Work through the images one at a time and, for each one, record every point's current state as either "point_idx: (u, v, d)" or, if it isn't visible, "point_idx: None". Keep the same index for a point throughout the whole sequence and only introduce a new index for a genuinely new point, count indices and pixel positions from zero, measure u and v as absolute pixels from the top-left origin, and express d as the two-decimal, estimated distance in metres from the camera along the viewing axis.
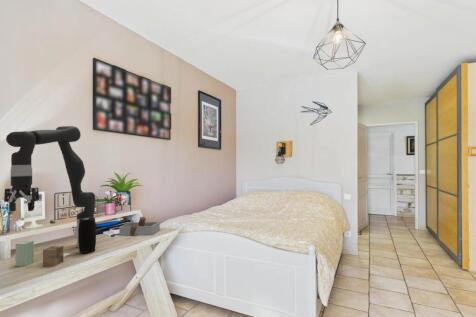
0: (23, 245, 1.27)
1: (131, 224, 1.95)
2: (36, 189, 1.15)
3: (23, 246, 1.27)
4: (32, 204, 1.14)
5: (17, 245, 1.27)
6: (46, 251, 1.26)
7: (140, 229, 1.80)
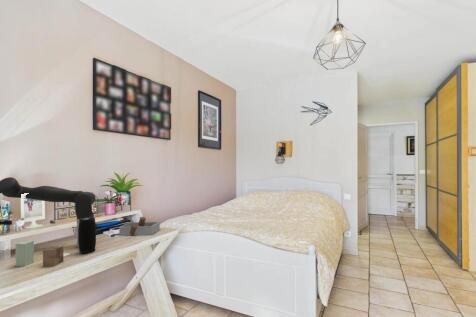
0: (23, 245, 1.27)
1: (131, 224, 1.95)
2: None
3: (23, 246, 1.27)
4: None
5: (17, 245, 1.27)
6: (46, 251, 1.26)
7: (140, 229, 1.80)
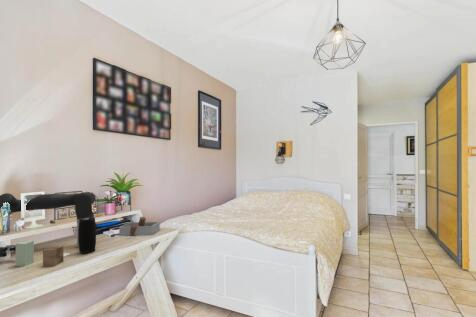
0: (23, 245, 1.27)
1: (131, 224, 1.95)
2: None
3: (23, 246, 1.27)
4: None
5: (17, 245, 1.27)
6: (46, 251, 1.26)
7: (140, 229, 1.80)
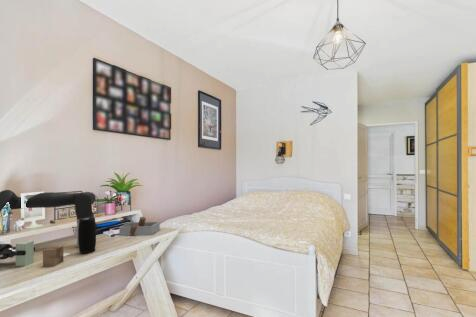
0: (23, 245, 1.27)
1: (131, 224, 1.95)
2: None
3: (24, 246, 1.27)
4: (17, 254, 1.25)
5: (17, 245, 1.27)
6: (46, 251, 1.26)
7: (140, 229, 1.80)
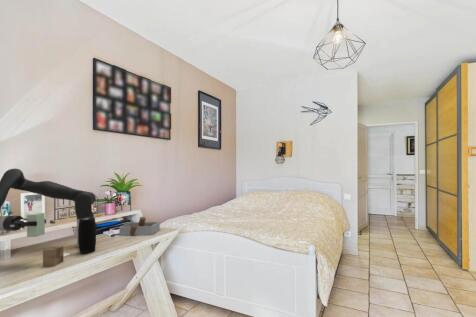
0: (34, 216, 1.27)
1: (131, 224, 1.95)
2: (11, 225, 1.23)
3: (35, 217, 1.27)
4: (29, 224, 1.26)
5: (28, 216, 1.27)
6: (46, 251, 1.26)
7: (140, 229, 1.80)
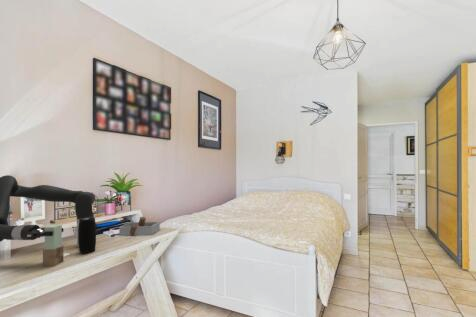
0: (52, 229, 1.26)
1: (131, 224, 1.95)
2: (28, 235, 1.22)
3: (52, 230, 1.26)
4: (45, 234, 1.24)
5: (46, 228, 1.26)
6: (46, 251, 1.26)
7: (140, 229, 1.80)
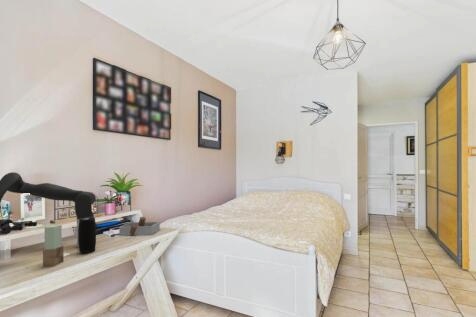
0: (52, 229, 1.26)
1: (131, 224, 1.95)
2: None
3: (52, 230, 1.26)
4: (14, 229, 1.24)
5: (46, 228, 1.26)
6: (46, 251, 1.26)
7: (140, 229, 1.80)
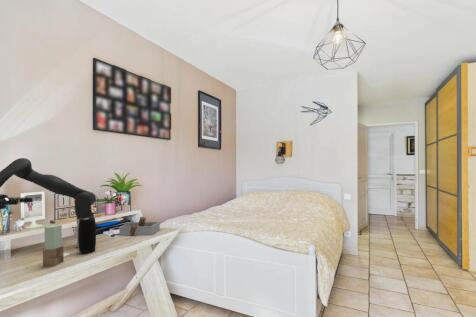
0: (52, 229, 1.26)
1: (131, 224, 1.95)
2: None
3: (52, 230, 1.26)
4: (9, 203, 1.25)
5: (46, 228, 1.26)
6: (46, 251, 1.26)
7: (140, 229, 1.80)
